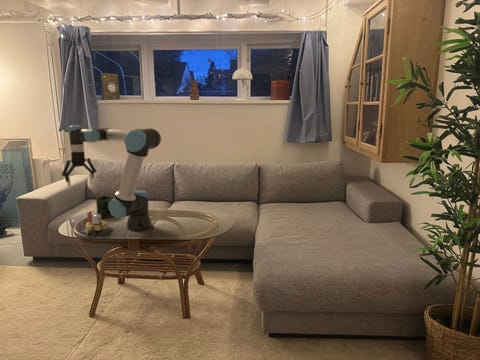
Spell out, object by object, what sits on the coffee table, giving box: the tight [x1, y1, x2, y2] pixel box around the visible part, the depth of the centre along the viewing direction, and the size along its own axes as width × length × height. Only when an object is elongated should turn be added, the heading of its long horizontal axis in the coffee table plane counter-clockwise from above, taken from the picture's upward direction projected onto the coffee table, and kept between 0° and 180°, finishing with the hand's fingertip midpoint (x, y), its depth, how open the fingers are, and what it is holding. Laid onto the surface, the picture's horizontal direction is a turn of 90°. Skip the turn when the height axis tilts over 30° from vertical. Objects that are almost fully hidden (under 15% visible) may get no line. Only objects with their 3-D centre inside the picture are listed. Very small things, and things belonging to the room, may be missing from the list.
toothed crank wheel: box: [85, 211, 109, 231], centre depth 223 cm, size 16×12×8 cm
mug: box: [95, 195, 113, 218], centre depth 253 cm, size 11×15×12 cm
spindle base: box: [80, 213, 114, 237], centre depth 221 cm, size 13×15×10 cm
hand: (80, 185), depth 230 cm, fingers open, 13 cm apart
